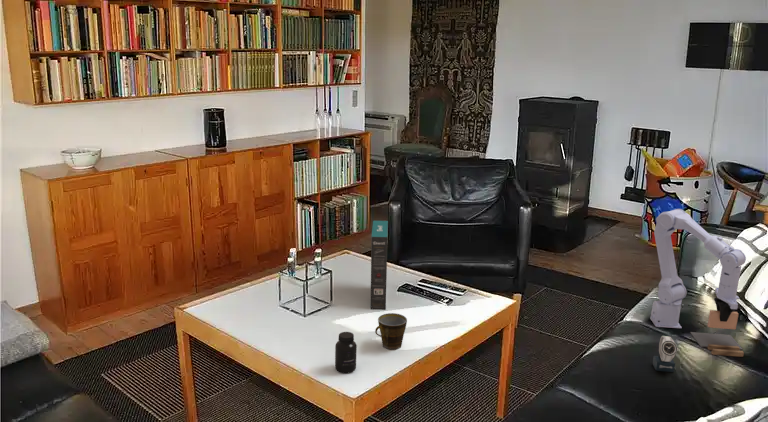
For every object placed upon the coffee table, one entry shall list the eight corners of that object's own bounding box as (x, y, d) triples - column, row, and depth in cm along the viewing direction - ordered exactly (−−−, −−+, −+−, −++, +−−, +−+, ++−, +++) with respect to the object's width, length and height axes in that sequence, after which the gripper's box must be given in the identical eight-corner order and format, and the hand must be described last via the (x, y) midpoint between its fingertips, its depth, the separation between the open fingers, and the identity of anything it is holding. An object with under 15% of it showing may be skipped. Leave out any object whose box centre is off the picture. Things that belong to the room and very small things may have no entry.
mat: (700, 346, 222) (701, 345, 222) (690, 333, 233) (690, 332, 233) (742, 350, 221) (742, 348, 220) (730, 335, 231) (730, 334, 231)
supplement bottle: (348, 376, 198) (348, 341, 195) (330, 370, 201) (330, 336, 198) (360, 367, 203) (360, 333, 200) (343, 361, 207) (343, 328, 204)
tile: (708, 327, 223) (711, 311, 221) (707, 325, 224) (710, 310, 223) (735, 329, 222) (738, 313, 220) (733, 327, 223) (736, 311, 222)
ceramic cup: (391, 336, 225) (392, 310, 222) (412, 346, 218) (413, 319, 216) (365, 347, 216) (365, 321, 214) (385, 358, 209) (386, 331, 207)
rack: (712, 354, 217) (713, 350, 216) (707, 348, 221) (708, 344, 221) (743, 356, 216) (743, 352, 215) (737, 350, 220) (738, 346, 220)
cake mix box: (385, 309, 247) (387, 237, 239) (370, 309, 247) (371, 236, 239) (386, 288, 268) (387, 220, 260) (372, 288, 268) (373, 220, 260)
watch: (657, 373, 203) (662, 342, 201) (651, 361, 211) (655, 331, 208) (675, 375, 203) (680, 344, 200) (668, 363, 210) (673, 333, 207)
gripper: (749, 292, 211) (742, 329, 215) (732, 277, 225) (725, 312, 229) (727, 291, 212) (721, 328, 216) (711, 275, 226) (705, 310, 229)
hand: (722, 319), depth 222 cm, fingers closed on tile, 1 cm apart
